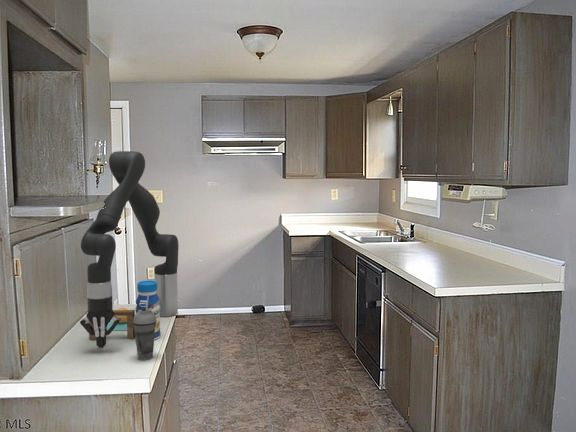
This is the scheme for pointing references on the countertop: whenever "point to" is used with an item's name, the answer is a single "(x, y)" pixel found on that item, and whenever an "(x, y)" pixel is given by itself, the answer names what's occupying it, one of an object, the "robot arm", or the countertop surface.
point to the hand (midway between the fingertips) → (101, 347)
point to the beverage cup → (144, 332)
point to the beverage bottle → (149, 301)
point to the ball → (123, 318)
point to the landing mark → (118, 326)
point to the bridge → (130, 328)
